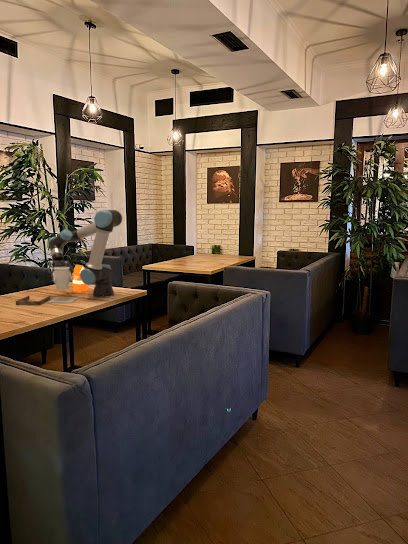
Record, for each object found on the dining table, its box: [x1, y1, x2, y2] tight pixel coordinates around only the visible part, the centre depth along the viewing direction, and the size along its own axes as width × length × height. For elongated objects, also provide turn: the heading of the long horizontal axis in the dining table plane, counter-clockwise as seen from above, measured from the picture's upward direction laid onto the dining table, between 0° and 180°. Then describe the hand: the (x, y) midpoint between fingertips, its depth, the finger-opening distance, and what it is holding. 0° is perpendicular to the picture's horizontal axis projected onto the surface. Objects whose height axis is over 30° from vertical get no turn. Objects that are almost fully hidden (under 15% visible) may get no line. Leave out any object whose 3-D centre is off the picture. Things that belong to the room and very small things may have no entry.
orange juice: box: [72, 264, 89, 293], centre depth 313 cm, size 8×9×20 cm
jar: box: [53, 266, 70, 291], centre depth 277 cm, size 11×10×15 cm
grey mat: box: [47, 296, 80, 304], centre depth 279 cm, size 16×16×1 cm
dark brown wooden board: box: [15, 295, 52, 306], centre depth 272 cm, size 16×17×2 cm
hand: (63, 280), depth 274 cm, fingers closed on jar, 10 cm apart
